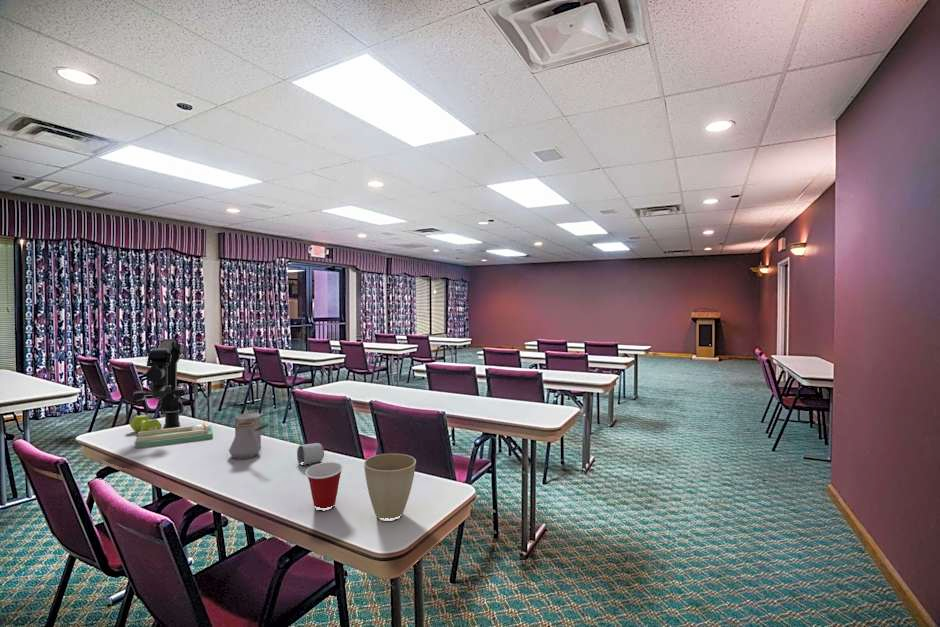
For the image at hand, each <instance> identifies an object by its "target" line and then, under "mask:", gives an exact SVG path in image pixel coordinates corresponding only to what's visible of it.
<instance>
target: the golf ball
mask: <svg viewBox="0 0 940 627" xmlns="http://www.w3.org/2000/svg"><path fill="white" fill-rule="evenodd" d="M202 425H203V424H197V425H196V426H195V425H193V426H194V427H193V429H192V431H197V430H205V429H204V427H203V426H202Z"/></svg>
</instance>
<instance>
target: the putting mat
mask: <svg viewBox="0 0 940 627" xmlns="http://www.w3.org/2000/svg"><path fill="white" fill-rule="evenodd" d="M201 425H202V426H203V427H204V429H205V430H197V431H192V429H193V427H194V426H196V425H188V426H181V427H180V426H176V427H168V428H161V429H160V430H151V431H138V432H137V437H136V439H135V441H136V442H135V449H142V448H148V447H156V446H162V445H171V444H179V443H180V444H181V443H186V442H195V441H202V440H203V441H204V440H209V439H210V440H211V439H213V438H214V436H213V435H214V433H213V432H214V431H213V428H212V425H209V423H208V421H207V420H204V424H201Z"/></svg>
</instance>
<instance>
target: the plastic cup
mask: <svg viewBox="0 0 940 627" xmlns="http://www.w3.org/2000/svg"><path fill="white" fill-rule="evenodd" d="M343 468H344V467H343V464H341V463H339V462H334V461H328V462H327V461H326V462H321V463H315V464H312V465H311V466H310V467H308V468H307V469H306V470H305V472H304V473H305V475H306V477H307V479H308V482H309V488H310V492H311V498H312V502H313V503H312V504H313V507H314V506H316V507H320V508H327V507H331V506H333V505H336V501H337V496H338V491H339V490H338V489H339V485H340V484H339V483H340V478H341V475H342V472H343Z"/></svg>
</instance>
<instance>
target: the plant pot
mask: <svg viewBox="0 0 940 627" xmlns="http://www.w3.org/2000/svg"><path fill="white" fill-rule="evenodd" d="M363 466H364V475H365V481H366V482H365V483H366V485H367V492H368V494H369V499H370V501H371V506H372V509H373V511H374V514H375V517H376V516H377V517H379V518H384V519H385V518H389V519H390V518H395V517H398V516H400V515H401V514H402V515H404V514H403V513H404V512H405V509H406V506H407V503H408V501H409V497H410V494H411V489H412V487H413V486H412V485H413V481H414V476H415V472H416V466H417V460H416V458H414V456H412V455H408V454H404V453H382V454H376V455H373V456H370V457H368V458H366V459H365V460H364V461H363ZM377 517H376V518H377Z"/></svg>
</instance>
